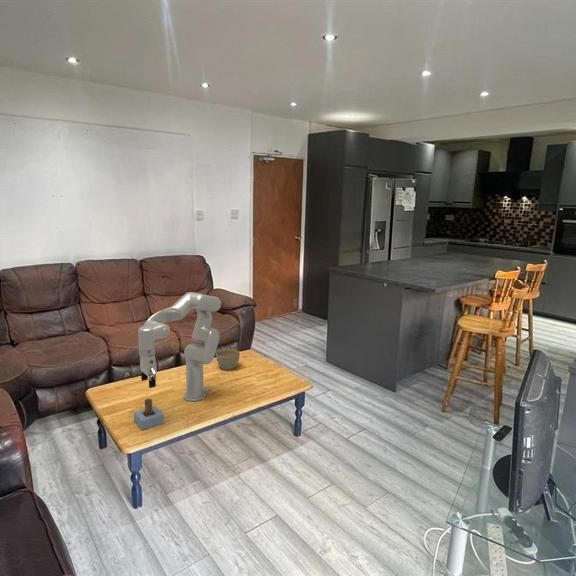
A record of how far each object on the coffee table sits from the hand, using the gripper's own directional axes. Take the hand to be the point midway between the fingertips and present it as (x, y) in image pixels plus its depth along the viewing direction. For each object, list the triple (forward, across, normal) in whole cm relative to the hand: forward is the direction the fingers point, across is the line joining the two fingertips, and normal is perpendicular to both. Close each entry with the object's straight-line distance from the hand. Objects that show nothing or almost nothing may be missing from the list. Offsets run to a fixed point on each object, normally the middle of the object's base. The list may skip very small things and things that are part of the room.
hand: (148, 383), depth 206 cm
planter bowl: (+23, +37, -69) cm, 82 cm away
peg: (+21, 0, +1) cm, 21 cm away
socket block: (+21, 0, +1) cm, 21 cm away
